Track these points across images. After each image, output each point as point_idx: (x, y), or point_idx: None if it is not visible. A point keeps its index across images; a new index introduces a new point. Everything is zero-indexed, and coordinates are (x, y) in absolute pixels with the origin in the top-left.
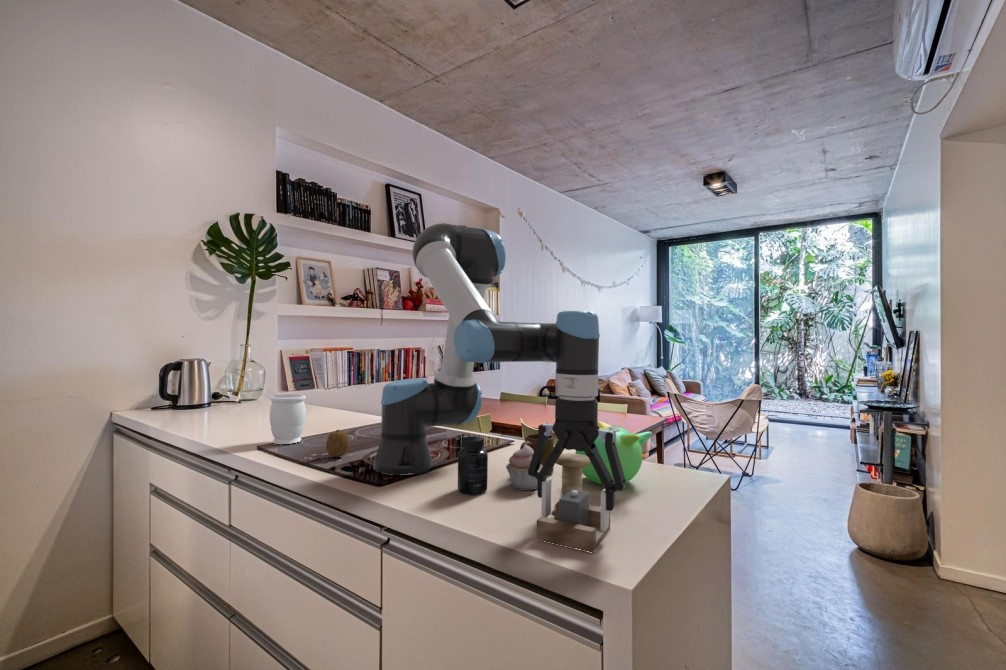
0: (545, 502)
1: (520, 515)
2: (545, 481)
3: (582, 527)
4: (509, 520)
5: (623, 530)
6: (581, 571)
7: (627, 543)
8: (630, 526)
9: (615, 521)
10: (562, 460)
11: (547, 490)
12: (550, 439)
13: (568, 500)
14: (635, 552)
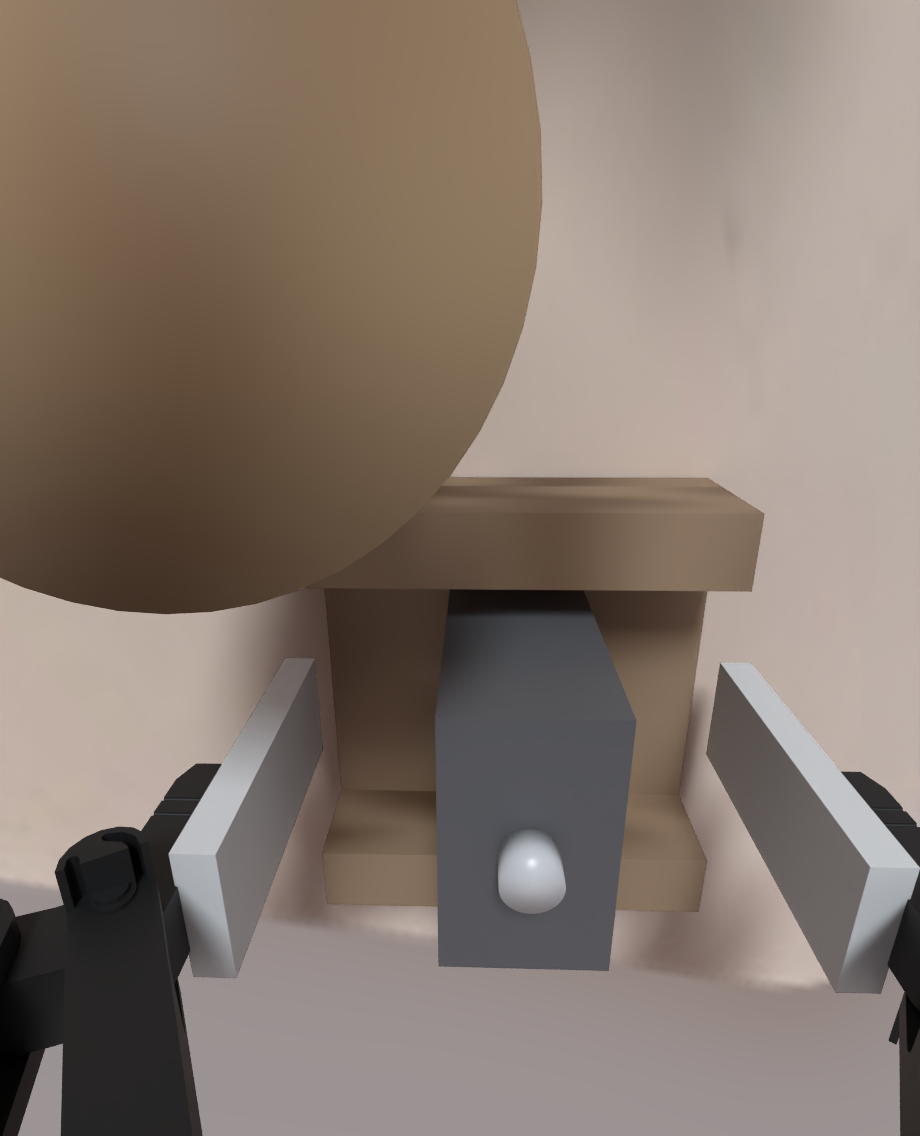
0: (291, 826)
1: None
2: (211, 951)
3: (624, 886)
4: (72, 657)
5: (801, 444)
6: (649, 964)
7: (835, 627)
8: (850, 340)
9: (727, 297)
10: (62, 580)
11: (261, 866)
12: None
13: (517, 963)
14: (882, 712)
